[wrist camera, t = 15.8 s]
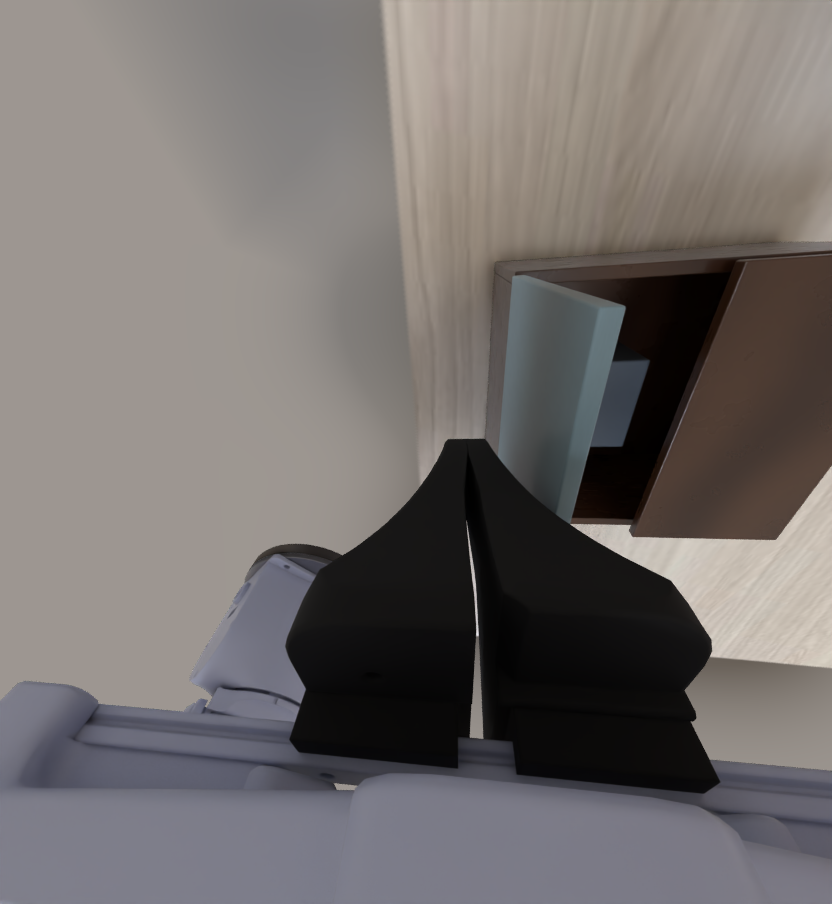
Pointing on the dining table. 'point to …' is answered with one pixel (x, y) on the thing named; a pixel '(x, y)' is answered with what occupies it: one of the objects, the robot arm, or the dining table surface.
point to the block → (619, 397)
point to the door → (554, 386)
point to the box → (703, 385)
